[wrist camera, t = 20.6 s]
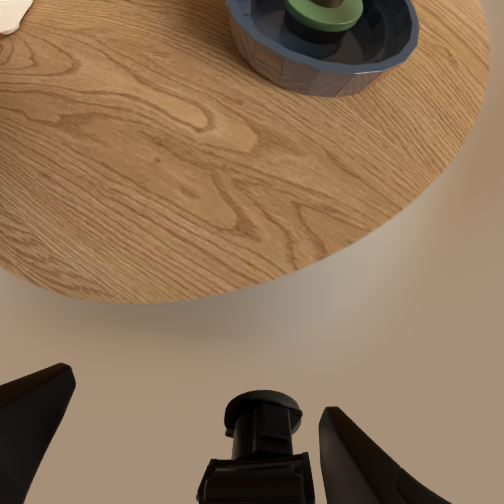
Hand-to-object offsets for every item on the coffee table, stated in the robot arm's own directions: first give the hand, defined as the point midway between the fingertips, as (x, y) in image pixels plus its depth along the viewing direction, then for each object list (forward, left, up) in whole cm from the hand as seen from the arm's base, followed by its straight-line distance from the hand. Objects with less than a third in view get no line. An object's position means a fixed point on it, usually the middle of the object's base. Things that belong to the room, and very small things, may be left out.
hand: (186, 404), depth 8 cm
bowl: (+20, 0, -13) cm, 24 cm away
